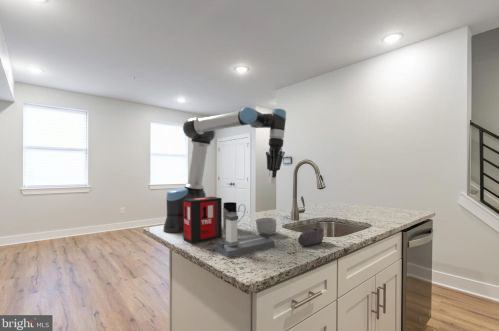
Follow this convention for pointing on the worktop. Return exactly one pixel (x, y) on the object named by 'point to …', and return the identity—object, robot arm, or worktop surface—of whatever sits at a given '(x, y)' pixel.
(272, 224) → the teacup
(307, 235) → the perforated stone tool
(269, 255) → the worktop surface
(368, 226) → the worktop surface
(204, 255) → the worktop surface
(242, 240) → the fader console
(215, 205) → the cleaning product box
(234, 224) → the fader knob
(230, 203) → the glass holder
